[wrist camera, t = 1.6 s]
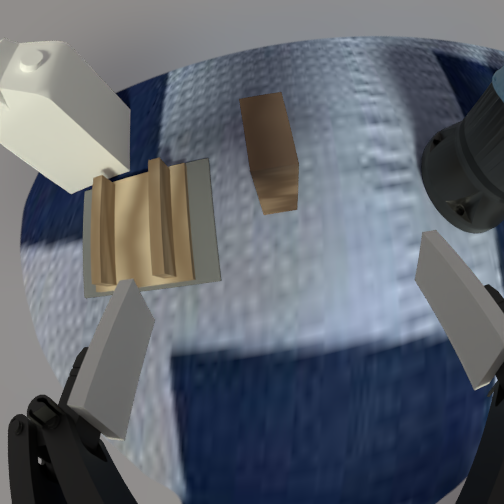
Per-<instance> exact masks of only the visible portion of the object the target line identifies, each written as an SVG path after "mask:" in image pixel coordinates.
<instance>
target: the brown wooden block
mask: <svg viewBox="0 0 504 504" xmlns="http://www.w3.org/2000/svg"><path fill="white" fill-rule="evenodd" d="M239 101H240V108H241V114H242V120H243V127H244V133H245V140H246V146H247V153H248V160H249V166H250V172H251V175H252V178H253V182H254V185H255V188H256V191H257V194H258V197H259V201H260V204H261V207H262V210H263V214H264V215H267V214H273V213H279V212H286V211H292V210H297V202H298V175H299V162H298V158H297V153H296V149H295V145H294V141H293V136H292V132H291V128H290V124H289V120H288V116H287V112H286V108H285V104H284V101H283V97H282V93H281V92H278V93H271V94H265V95H259V96H253V97H247V98H242V99H239Z"/></svg>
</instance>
